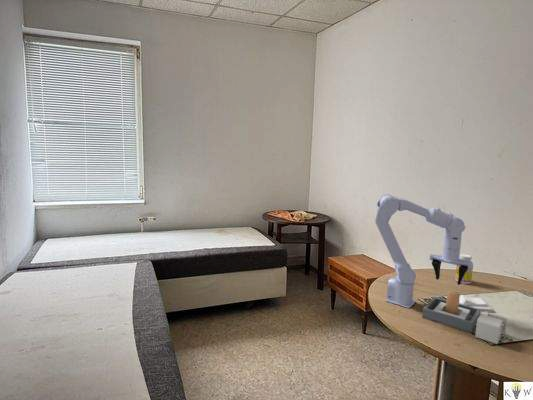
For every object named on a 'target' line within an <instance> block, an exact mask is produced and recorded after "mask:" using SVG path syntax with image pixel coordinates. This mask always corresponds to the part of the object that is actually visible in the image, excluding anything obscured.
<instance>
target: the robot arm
mask: <svg viewBox="0 0 533 400" xmlns="http://www.w3.org/2000/svg"><path fill="white" fill-rule="evenodd" d="M397 211H398V212H402V211H409V212H411V213H413V214H416V215H419V216H422V217H424V218H425V220H426V222H428V223H430V224H431V225H435V226H437V227H439V228H442V229H444V235H443V236H444V237H443V247H442V255H440V254H439V255H438V254H432V253H431V254H430V255H429V260H430V261H431V266H432V267H433V270H434V274H435V280H437V281H439V279H440V275H441V265H442V263H446V264H451V265H455V266H457V265H459V266H461V267H459V278H458V282H457V285H458V286H460V285H461V284H462V283H461V281H462V278H463V276H464V274H465V273H466V271H467V270H468V268H472V262H473V261H472V262H469V261H465V260H462V259H460V255H461V254H460V253H461V244H462V235H463V232H464V231H465V230H466V225H465V223H464V221H463V220H462V218H459V217H457V216H455V215H454V213H450V212H449V213H448V212H445V211H443V210H442V209H441V208H440V207H431V208H429V209H428V208H426V207H423V206H421V205H419V204H417V203H415V202H413V201H410V200H408V199H405V198H402V197H399V196H395V195H394V196H393V195H392V194H386V193H385V194H382V195H381V196H380V197H379V199H378V201H377V203H376V209H375V214H374V215H375V216H374V222H375V225H376V227H377V229H378V231H379V233H380V235H381V237H382V240H383V242H384V244H385V246H386V249H387V250H388V253H389V255H390V257H391V259H392V261H393V264H394V272H395V274H396V275H395V277H390V278H389V279H388V282H387V289H386V299H385V301H386V302H387V303H390V304H395V305H397V306H401V307H404V308H407V309H410V308H411V307H412V306H413V305H415V304H416V303H417V302H416V300H415V299H413V298H414V297H413V296H414V287H415V281H416V277H417V275H416V272H415V271H414V270H413V268H412V267H411V265H410V263H408V261H407V259H406V258H405V256H404V254H403V251H402V249H401V247H400V244H399V243H398V240H397V237H396V236H395V234H394V231H393V229H392V227H391V225H390V219H391V218H392V216H393V215H394V214H395V213H396V212H397Z"/></svg>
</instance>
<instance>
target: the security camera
mask: <svg viewBox="0 0 533 400" xmlns="http://www.w3.org/2000/svg"><path fill="white" fill-rule="evenodd" d="M508 319H509V318H508V317H506V316H502V315H498V314H495V313H493V312H487V315H486V314H481V313H480V317H479V318H478V320H477V325H476V327H475V335H474V337H475V338H477V339H480V340H483V341H485V342H489V343H492V344H494V345H495V344H496V345H498V344H499V342H500V339H501V337H502V336H501V335H506V332H507V325H508Z"/></svg>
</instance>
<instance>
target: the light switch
mask: <svg viewBox="0 0 533 400" xmlns="http://www.w3.org/2000/svg"><path fill="white" fill-rule="evenodd" d="M459 304H462V305H466V306H470V307H473V308H477V309H481V312H485V311H487V312H486V313H495V309H494V308H492V307H491V305H490V304H489V303H488V302H487V301H486V300H485V299H484V298H482V297H472V296H471V297H470V296H466V295H464V294H460V298H459Z"/></svg>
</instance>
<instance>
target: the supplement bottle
mask: <svg viewBox="0 0 533 400" xmlns="http://www.w3.org/2000/svg"><path fill="white" fill-rule="evenodd" d="M472 257H473V256H472V255H470V254H466V253H461V254H460V255H459V259H462V260H465V261H469V262H472V268H468V270H467V271H466V273H465V274H464V276H463V278H462V281H461V284H463V285H468V284H471V283H472V279H473V277H472V276H473V269H474V262H473V261H472V259H473V258H472ZM459 267H461V266H459V265H456V267H455V268H456V270H455V277H454V279H455V281H456V282H457V283H458V278H459Z"/></svg>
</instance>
